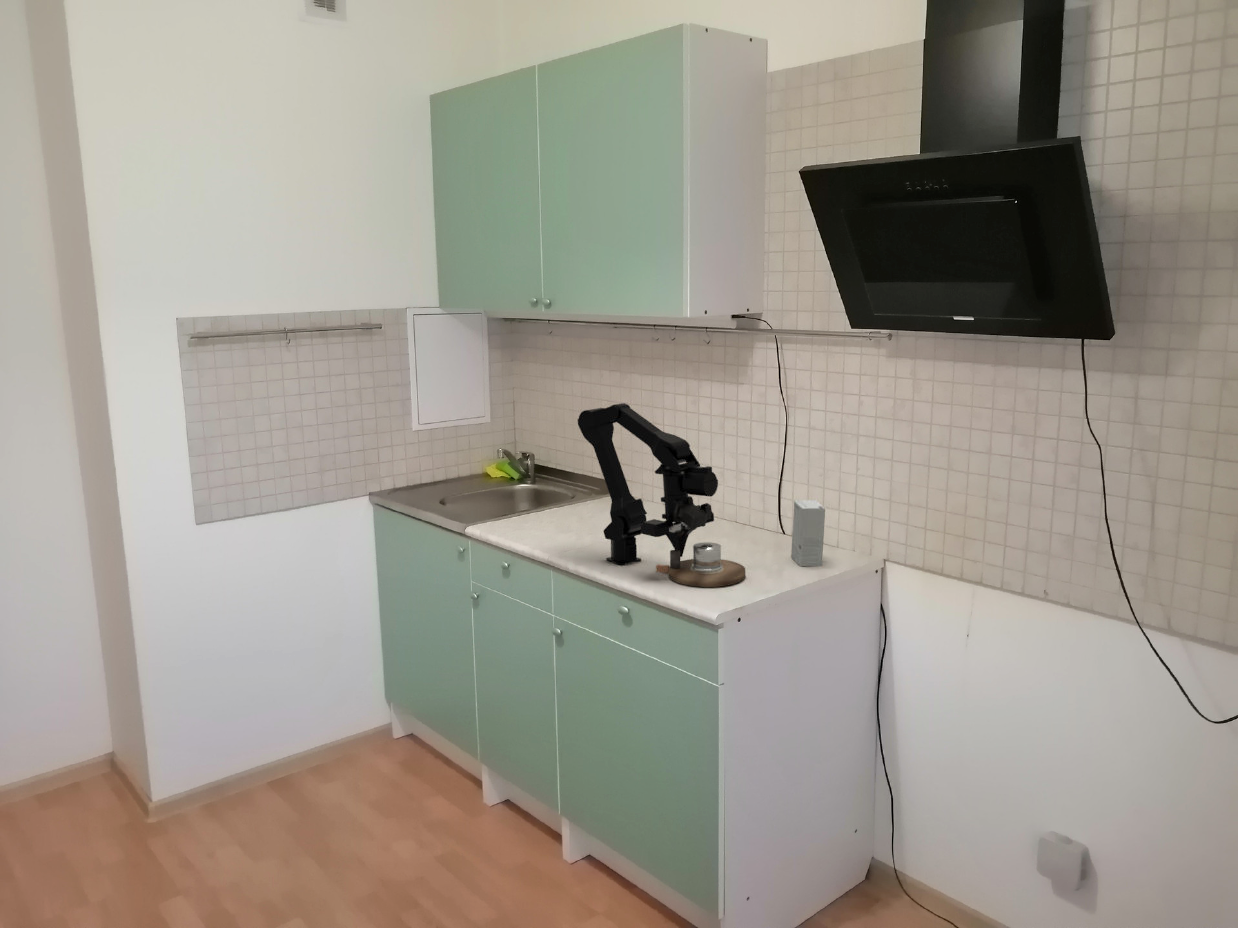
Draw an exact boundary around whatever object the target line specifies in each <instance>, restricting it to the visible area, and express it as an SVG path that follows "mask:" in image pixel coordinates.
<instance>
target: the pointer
mask: <svg viewBox="0 0 1238 928" xmlns="http://www.w3.org/2000/svg"><path fill="white" fill-rule="evenodd" d="M669 567H670V565H667V564H666V565H665V564H656V567H655V570H656V572H657V573H665V574H669Z"/></svg>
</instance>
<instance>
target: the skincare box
mask: <svg viewBox="0 0 1238 928" xmlns="http://www.w3.org/2000/svg"><path fill="white" fill-rule="evenodd" d="M792 517H793V520H792V532H791V533H792V535H791V536H792V537H791V554H790V556H791V557H790V558H792V559H793V561H795V562H796V564H797V565H798V566H799V567H821V566H823V557H824V556H823V554H824V553H823V551H824V536H825V535H824V534H825V520H826V508H825V507H824V506H823V505H822V503H819V502H818V500H816V499H814V500H813V499H810V500H809V499H805V500H804V499H802V500H799V499H795V500H793V516H792Z"/></svg>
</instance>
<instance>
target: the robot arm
mask: <svg viewBox="0 0 1238 928" xmlns="http://www.w3.org/2000/svg"><path fill="white" fill-rule="evenodd" d="M615 423H617V424H619V425H620V426H621V427H622V428H624V429H625V430H627V432H629V433H630V434H632V435H634V437H636V438H637V439H638V440H640V441H641V442H643V443H644V444H645V445H647V447H649V448H650V451H651V453H652V455H653V457H654V458H655V459H656V460H657V461H658V462H659V463H660V465H659V466H658V467H657V468H656V470H654V474H655V475H662V483H663V486H662V487H663V496H662V497H660V502H661V503H664V513H662V514H661V519H663V520H660V519H656V518H654V519H653V518H652V519H649V520H647V516H646V515H647V514H648V512H647V511H646V510H645V507H644V503H643V500H642V499H641V498H637V499H636V498H635V497H634V496H633V495H632V494H631V491H630V489H629V488H630V487H629V485H628V482H627V480H626V476H625V474H624V471H623V468H622V465H621V462H620V460H619V456H618V454H617V451H616V448H615V447H616V446H615V445H614V442H613V437H614V436H613V435H614V430H615V427H614V424H615ZM577 425H578V428H579V430H580V432H581V434H582V437H583V438H584V439H585V440H586V441H587V442H588V443H589V444H590V445H591V446H592V447H593V450H594V453H595V455H596V459H597V462H598V464H599V467H600V470H601V473H602V477H603V479H604V482H605V485H606V488H607V492H608V494H609V496H610V500H611V504H610V510H609V515H610V520H611V522H610V523H608V525H607V526H606V527H605V528H604V529H603V535H604V538H605V539H607V540H610V556H609V557H606V558H605V560H606V561H608V562H611V563H613V564H617V565H619V566H624V565H630V564H632V563H637V562H641V561H642V559H641V558H640V557H638V553H637V548H638V547H637V537H636V536H641V535H645V536H649V537H650V536H651V537H652V538H653V537H654V538H661V537H663V536H666V538H667V539H668V541H670V544H671V546H672V547H673V550H680V558H682V557H683V555H684V551H685V549H686V543H687V541H688V538H689V536H690V534H691V533H692V532H694V530H696V529H698V528H701V527H706V524H709V523H711V522H712V523H713V522H715V514H714V512H713V511H712V509H713V508H712V505H711V504H710V503H708V502H706V503H702V504H701V505H700V504H698V505H695V503H694V498H693V496H700V497H713V496H714V495H716V492H717V490H718V487H719V479H718V478H717V477H718V476H717V475H716V474H715V473H714V471H713V467H712V466H709V465H708V466H701V464H700V462H699V461H698V459H697V457H696V456H695V455H694V452H693V451H692V450H691V446H690V444H689V442H688V441H687V440H686V439H684V438H682V437H680V436H678V435H675V434H671V433H668V432H665V431H664V430H663V431H662V430H661V429H660V428H659V427H657V426H656V425H654V424H653V423H652V422H650V421H649V420H648V419H646V418H644V416H642V415H641V414H639V413H638V412H637V411H635V410H634V409H633V408H631V407H630V405H629V404H627V403H623V402H621V403H616V404H611V405H610V406H607V407H598V408H591V409H586V410H583V411H581V412H580V413H579V416H578V418H577ZM691 495H692V496H691Z"/></svg>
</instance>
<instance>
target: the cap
mask: <svg viewBox="0 0 1238 928" xmlns="http://www.w3.org/2000/svg"><path fill="white" fill-rule="evenodd" d="M721 549H722V546H721V545H720V543H716V542H710V541H709V542H706V541H704V542H698V543H694V544H693V547H692V552H693V553H692V554H693V555H692V556H693V558H692V559H693V564H692V570H693V571H696V572H700V573H715V572H719V571H721V570H722V564H721V556H722V555H721V554H722V553H721V552H722V550H721Z"/></svg>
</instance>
